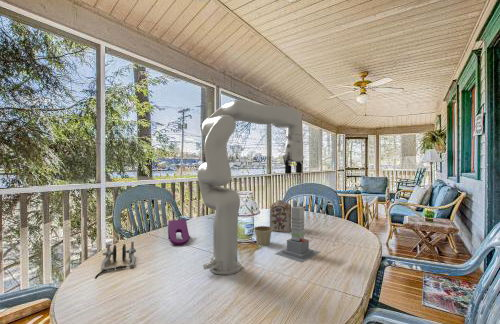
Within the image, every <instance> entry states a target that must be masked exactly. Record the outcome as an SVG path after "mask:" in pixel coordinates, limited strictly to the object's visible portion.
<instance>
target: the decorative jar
mask: <svg viewBox="0 0 500 324" xmlns="http://www.w3.org/2000/svg"><path fill="white" fill-rule="evenodd" d="M269 227H271V228H273V230H272V232H277V231H280V232H279V233H289V232H290V230H291V229H292V205H291V203H288V202H286V201H285V200H282V199H278V200H277V201H276V202H273V203H271V205H270V208H269Z"/></svg>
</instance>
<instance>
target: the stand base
mask: <svg viewBox="0 0 500 324" xmlns="http://www.w3.org/2000/svg"><path fill="white" fill-rule="evenodd" d="M309 241H310V240H309V239H308V238H307V239H306V238H304V239H302V241H300V242H299V241H294V240H292V237H291V238H289V239H286V248H284V249H283V250H280V251H278V252H276V253H274V255H277V256H279V257H283V258H286V259H290V260H293V261H297V262H300V263H304V262H305V261H308V260H309V259H312V258H313V257H314V256H316V255H318V254H321V251H319V250H314V249H310V248H309V246H310V242H309Z"/></svg>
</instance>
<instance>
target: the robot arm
mask: <svg viewBox="0 0 500 324" xmlns="http://www.w3.org/2000/svg"><path fill="white" fill-rule="evenodd" d="M302 117H303V116H302V114H301V113H299V111H298V110H297V109H295V108H292V107H289V106H281V105H269V104H262V103H255V102H252V101H248V100H244V99H236V100H233V101H229V102H226V103H224V104H223V105H222V106H220V107H219V108H218V109H217V110H215V111H214V112H213V113H212V114H211V115H209V116H208V117H207V118H205V119H204V121H203V122H202V124H201V125H202V126H201V131H202V134H203V135H204V136H205V140H204V144H203V145H204V147H203V152H204V158H205V161H204V162H203V163H201V164H200V165H199V167H198V170H197V182H198V186H199V190H200V194H201V199H202V202H203V204H204V206H206V207H207V208H208V209H210V210H214V211H216V212H215V216H214V219H213V226H212V227H213V229H212V230H213V233H212V234H213V239H212V240H213V242H212V243H213V244H212V245H213V249H212V250H213V253H212V254H213V255H212V256H213V257H211V259H210V261H209V262H208V263H205V264H203V267H202V268H203V270H205V271H206V270H208V269H209V271H210V272H211V273H213V274H216V275H221V276H222V275H227V276H228V275H233V274H236V273H238V272H239V271H241V270H242V263H241V262H240V261H238V249H239V248H238V245H239V244H238V241H239V240H238V239H239V238H238V233H239V232H238V225H239V224H238V220H239V219H238V218H239V212H240V207H241V198H240V196H239V193H238V192H237V191H235V190H234V189H232V188H228V187H224V186H227V185H228V184H229V183H230V182H231V181H232V171H231V167H230V161H229V158H228V148H227V146H228V142H229V139H230V137H231V136H232V135H233V134H234V132H235V131H236V127H237V126H236V125H237V123H236V122H245V123H250V124H254V125H255V124H256V125H272V126H273V127H275V128H278V129H281V128H286V129H285V132H286V133H285V141H286V142H285V148H284V154H283V156H282V159H283V163H284V173H285V174H286V175H288V174H289V175H291V174H292V163H293V162H295V164H296V165H295V173H296V174H302V173H303V164H304V158H305V157H304V146H303V141H302V138H303V137H302V131H303V130H302V127H303V125H302V123H303V122H302Z"/></svg>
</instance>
